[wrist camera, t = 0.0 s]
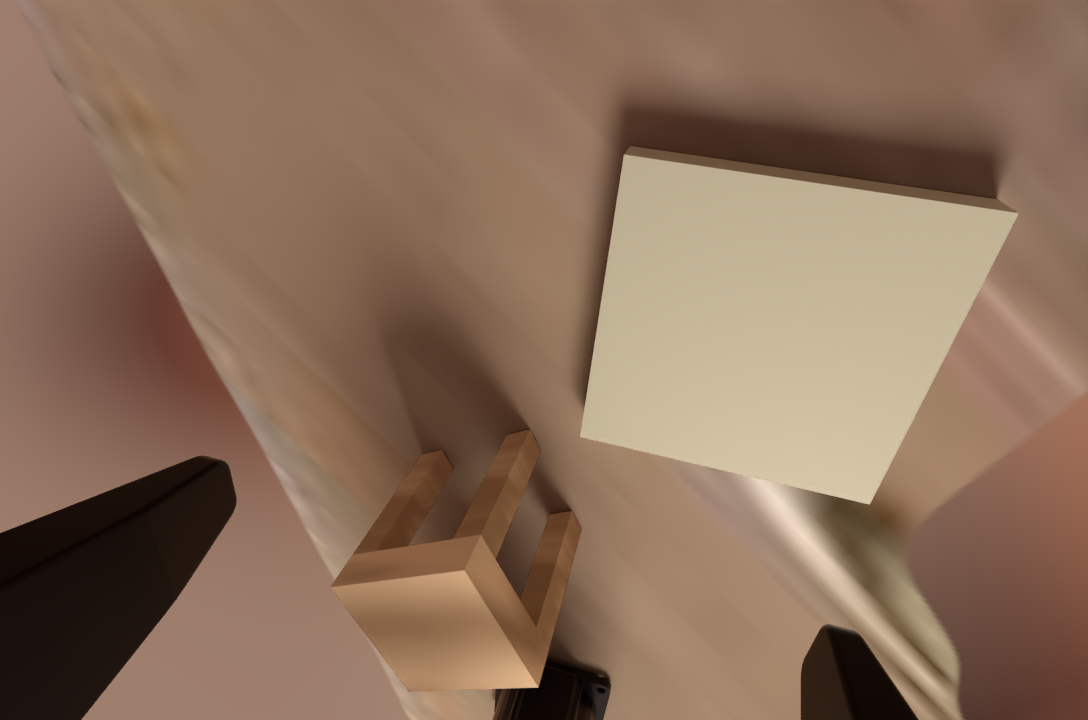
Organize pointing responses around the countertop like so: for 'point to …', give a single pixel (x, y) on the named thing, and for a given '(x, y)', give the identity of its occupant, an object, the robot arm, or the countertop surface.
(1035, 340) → the countertop surface
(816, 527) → the countertop surface
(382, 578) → the maple stool
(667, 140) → the countertop surface
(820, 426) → the sage board
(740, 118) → the countertop surface
